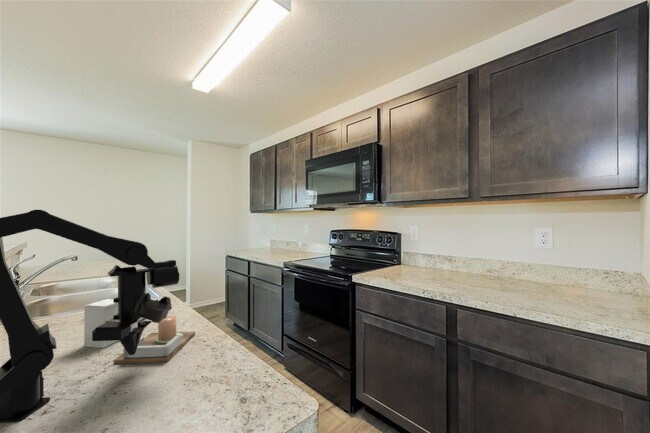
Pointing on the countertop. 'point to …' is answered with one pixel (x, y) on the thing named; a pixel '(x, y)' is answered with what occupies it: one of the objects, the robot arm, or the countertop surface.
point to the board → (153, 340)
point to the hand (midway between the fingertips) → (132, 354)
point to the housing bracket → (154, 349)
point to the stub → (167, 328)
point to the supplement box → (98, 320)
